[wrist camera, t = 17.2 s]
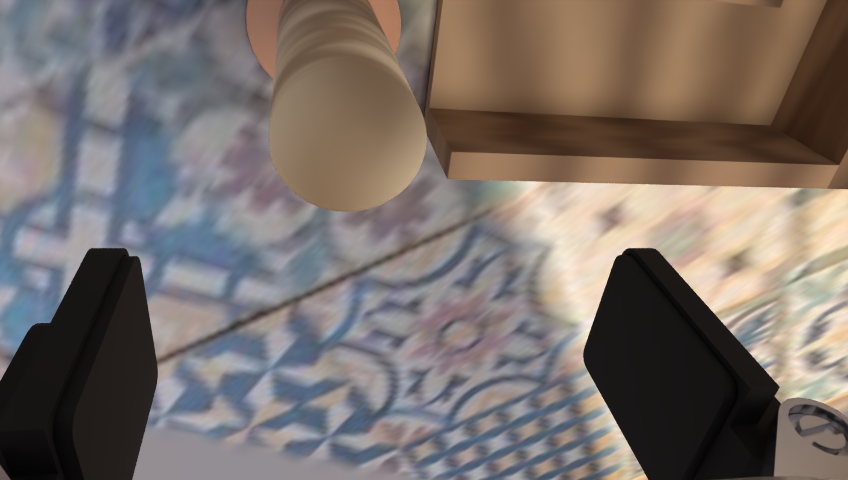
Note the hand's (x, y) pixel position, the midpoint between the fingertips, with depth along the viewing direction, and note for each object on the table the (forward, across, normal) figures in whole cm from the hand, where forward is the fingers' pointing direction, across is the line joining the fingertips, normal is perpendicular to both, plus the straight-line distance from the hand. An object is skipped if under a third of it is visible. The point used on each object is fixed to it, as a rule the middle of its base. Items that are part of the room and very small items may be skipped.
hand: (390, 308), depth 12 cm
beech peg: (+24, 0, 0) cm, 24 cm away
